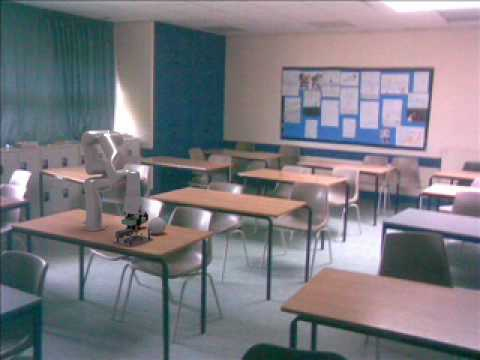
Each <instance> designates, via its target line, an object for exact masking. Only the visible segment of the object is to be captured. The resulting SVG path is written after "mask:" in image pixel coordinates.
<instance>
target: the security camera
mask: <svg viewBox="0 0 480 360" xmlns="http://www.w3.org/2000/svg"><path fill="white" fill-rule="evenodd" d="M144 211H145V210H144ZM134 215H135V214H131V215H130V216H131V217H134ZM138 215H139V214H138ZM143 217H146V222H143V223H141V225H143V224H145V223H147V222H148V221H149V214H148V212H147V211H145V214H144V216H143ZM124 219H126V217H124ZM136 225H137V224H136ZM136 225H132V226H129V225H126V228H125V229H132V230H133V231H135V226H136ZM138 230H141V227H140V226H137V231H138Z"/></svg>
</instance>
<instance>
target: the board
mask: <svg viewBox="0 0 480 360" xmlns="http://www.w3.org/2000/svg"><path fill="white" fill-rule="evenodd" d="M143 222H146V217H142V218H141V223H143ZM146 223H147V222H146ZM136 224H137V216H136V215H134V217H128V218H126V219H125V218H123V219H121V225H124V226H127V225H129V226H132V225H136ZM143 224H144V223H143Z"/></svg>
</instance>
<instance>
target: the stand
mask: <svg viewBox="0 0 480 360" xmlns="http://www.w3.org/2000/svg"><path fill="white" fill-rule="evenodd" d="M118 231H119V239H124V236H127V237H130V233H132V236H134V230H133V229H126V228H125V229H123V230H118ZM115 238H117V231H115Z"/></svg>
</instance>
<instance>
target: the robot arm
mask: <svg viewBox="0 0 480 360" xmlns="http://www.w3.org/2000/svg"><path fill="white" fill-rule="evenodd" d="M80 139H81V140H80V143H81V147H82V150H83V157H84V169H85V170H84V171H85V173H86V174H87V175H89V176H91V177H88V178H86V179H85V180H84V181H83V189H84V195H85V219H84V221H83V222H82V224H83V225H85V226H83V230H85V231H86V232H99V231H103V230H105V229H106V226H105V225H103V199H102V197H101V195H100V194H99V193H105V192H109V191H111V190H112V189H113V184H124V183H125V185H126V186H125V189H126V190H125V197H124V202H123V203H124V205H123V208H122V213H124V216H125V217H126V218H128V217H131V216H130V215H131V214H135V215H136V216H137V226H139V227H141V226H142V224H141V218H142V217H143V216H144V214H145V210H144V209H143V200H142V195H141V173H140V171H139V170H135V169H134V170H133V169H131V168H124V169H116V168H115V166H114V164H113V163H114V162H115V161H118V160H119V159H120V158H121V156H122V151H121V150H120V148H119V147H122V146H123V145H124V137H123V135H122V134H121V133H120V132H118V131H115V130H111V129H93V130H92V129H91V130H90V129H89V130H87V131H84V132H83V133H82V135H81V138H80ZM96 145H100V146H101V149H102V152H103V153H104V155H105V157H106V158H104V157H103V158H100V153H99V149H98V148H97V146H96ZM95 175H100V176H95ZM138 214H139V215H138ZM125 217H124V218H125Z"/></svg>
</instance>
